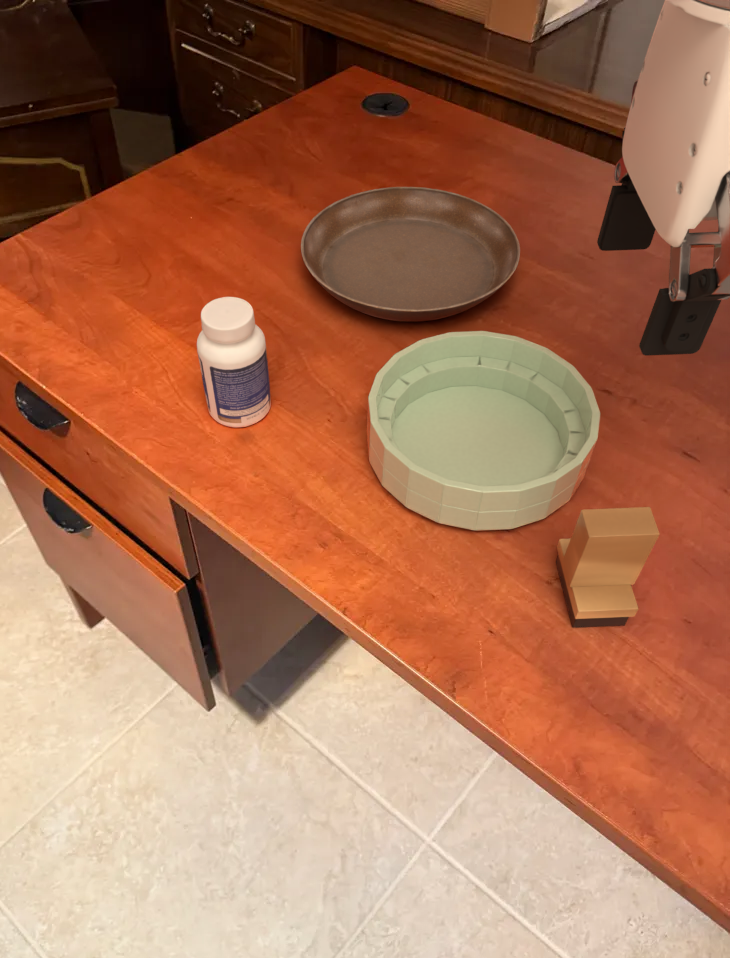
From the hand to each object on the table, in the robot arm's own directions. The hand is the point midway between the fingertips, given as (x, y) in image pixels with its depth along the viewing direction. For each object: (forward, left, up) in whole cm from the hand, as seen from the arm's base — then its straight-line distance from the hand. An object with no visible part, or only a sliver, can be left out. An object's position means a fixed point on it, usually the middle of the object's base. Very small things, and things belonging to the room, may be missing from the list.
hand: (643, 296), depth 48 cm
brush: (+1, +9, -18) cm, 20 cm away
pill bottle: (+26, -11, -19) cm, 34 cm away
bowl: (+7, -5, -18) cm, 20 cm away
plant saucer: (+10, -29, -19) cm, 36 cm away
